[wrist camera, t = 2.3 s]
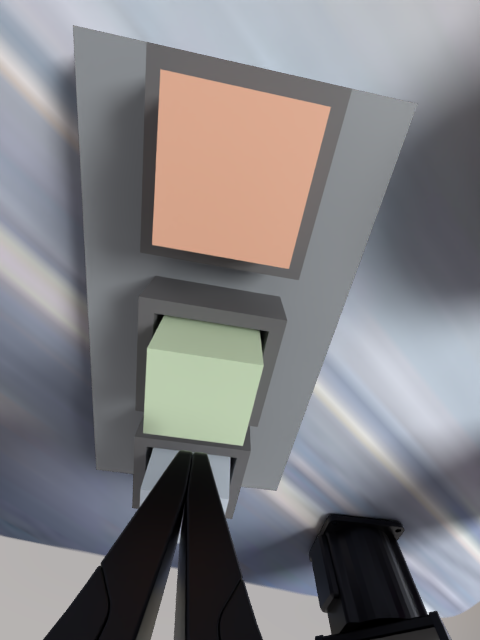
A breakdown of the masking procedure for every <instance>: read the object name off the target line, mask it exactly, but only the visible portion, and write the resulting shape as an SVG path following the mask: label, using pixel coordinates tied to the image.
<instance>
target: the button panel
mask: <svg viewBox="0 0 480 640" xmlns="http://www.w3.org/2000/svg"><path fill="white" fill-rule="evenodd" d="M73 37H74V56H75V75H76V94H77V113H78V132H79V151H80V170H81V189H82V208H83V227H84V246H85V265H86V284H87V303H88V322H89V341H90V360H91V379H92V398H93V417H94V436H95V455H96V470H103V471H112V472H120V473H129V474H133V504H132V508H136V509H139V507H140V489H141V486H142V482H143V479H144V476H145V473H146V470H147V466H148V463H149V460H150V457H151V454H152V450H153V448H161V449H169V450H177V451H180V450H186V451H191V452H193V453H194V452H202V453H206V454H210V455H218V456H226V457H230V486H229V501H228V505H227V509H226V513H225V517H226V518H228V519H232V517H233V513H234V510H235V506H236V503H237V499H238V496H239V492H240V488H241V487H248V488H257V489H265V490H274V491H277V488H278V485H279V482H280V480H281V477H282V474H283V471H284V469H285V466H286V463H287V460H288V458H289V455H290V452H291V449H292V447H293V444H294V441H295V439H296V436H297V433H298V430H299V428H300V425H301V422H302V419H303V417H304V414H305V411H306V408H307V406H308V403H309V400H310V397H311V395H312V392H313V389H314V387H315V384H316V381H317V378H318V376H319V373H320V370H321V367H322V365H323V362H324V359H325V356H326V354H327V351H328V348H329V345H330V343H331V340H332V337H333V335H334V332H335V329H336V326H337V324H338V321H339V318H340V315H341V313H342V310H343V307H344V304H345V302H346V299H347V296H348V293H349V291H350V288H351V285H352V283H353V280H354V277H355V274H356V272H357V269H358V266H359V263H360V261H361V258H362V255H363V252H364V250H365V247H366V244H367V241H368V239H369V236H370V233H371V231H372V228H373V225H374V222H375V220H376V217H377V214H378V211H379V209H380V206H381V203H382V200H383V198H384V195H385V192H386V189H387V187H388V184H389V181H390V179H391V176H392V173H393V170H394V168H395V165H396V162H397V159H398V157H399V154H400V151H401V148H402V146H403V143H404V140H405V137H406V135H407V132H408V129H409V127H410V124H411V121H412V118H413V116H414V113H415V110H416V107H417V105H418V104H416V103H412V102H408V101H403V100H399V99H394V98H390V97H386V96H381V95H377V94H372V93H368V92H364V91H359V90H355V89H351V88H346V87H342V86H338V85H333V84H329V83H324V82H320V81H316V80H311V79H307V78H303V77H298V76H294V75H289V74H285V73H281V72H276V71H272V70H267V69H263V68H259V67H254V66H250V65H245V64H241V63H237V62H232V61H228V60H224V59H219V58H215V57H210V56H206V55H202V54H197V53H193V52H188V51H184V50H180V49H175V48H171V47H167V46H162V45H158V44H153V43H149V42H144V41H140V40H136V39H131V38H127V37H122V36H118V35H114V34H109V33H105V32H100V31H96V30H92V29H87V28H83V27H78V26H74V25H73ZM160 69H162V70H166V71H171V72H175V73H180V74H184V75H189V76H193V77H198V78H202V79H207V80H211V81H216V82H220V83H225V84H229V85H234V86H238V87H243V88H247V89H252V90H256V91H261V92H266V93H270V94H275V95H279V96H284V97H288V98H293V99H297V100H302V101H306V102H311V103H315V104H320V105H324V106H329V107H331V109H330V113H329V117H328V120H327V124H326V128H325V132H324V136H323V140H322V143H321V147H320V151H319V155H318V159H317V163H316V167H315V170H314V174H313V178H312V182H311V186H310V190H309V193H308V197H307V201H306V205H305V209H304V213H303V217H302V220H301V224H300V228H299V232H298V236H297V240H296V243H295V247H294V251H293V255H292V259H291V263H290V267H289V269H286V268H281V267H275V266H269V265H264V264H258V263H252V262H247V261H241V260H235V259H230V258H224V257H218V256H213V255H207V254H201V253H196V252H190V251H184V250H179V249H173V248H167V247H162V246H156V245H152V236H153V215H154V194H155V173H156V152H157V131H158V110H159V89H160ZM164 315H169V316H175V317H181V318H188V319H194V320H200V321H206V322H213V323H219V324H225V325H232V326H238V327H244V328H250V329H257V330H260V338H261V346H262V355H263V363H264V367H263V370H262V374H261V378H260V382H259V386H258V390H257V394H256V397H255V401H254V405H253V409H252V413H251V417H250V420H249V424H248V428H247V432H246V436H245V440H244V444H243V446H240V445H232V444H224V443H216V442H208V441H201V440H193V439H185V438H177V437H169V436H162V435H154V434H146V433H143V424H144V403H145V382H146V361H147V347H148V345H149V344H150V342H151V340H152V338H153V336H154V334H155V332H156V330H157V328H158V326H159V324H160V322H161V321H162V319H163V317H164Z"/></svg>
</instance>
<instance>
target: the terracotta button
mask: <svg viewBox="0 0 480 640" xmlns="http://www.w3.org/2000/svg"><path fill="white" fill-rule="evenodd" d="M330 109H331V107H329V106H324V105H320V104H315V103H311V102H306V101H302V100H297V99H293V98H288V97H284V96H279V95H275V94H270V93H266V92H261V91H256V90H252V89H247V88H243V87H238V86H234V85H229V84H225V83H220V82H216V81H211V80H207V79H202V78H198V77H193V76H189V75H184V74H180V73H175V72H171V71H166V70H162V69H160V89H159V110H158V131H157V152H156V173H155V194H154V215H153V236H152V245H156V246H162V247H167V248H173V249H179V250H184V251H190V252H196V253H201V254H207V255H213V256H218V257H224V258H230V259H235V260H241V261H247V262H252V263H258V264H264V265H269V266H275V267H281V268H286V269H289V267H290V263H291V259H292V255H293V251H294V247H295V243H296V240H297V236H298V232H299V228H300V224H301V220H302V217H303V213H304V209H305V205H306V201H307V197H308V193H309V190H310V186H311V182H312V178H313V174H314V170H315V167H316V163H317V159H318V155H319V151H320V147H321V143H322V140H323V136H324V132H325V128H326V124H327V120H328V117H329V113H330Z"/></svg>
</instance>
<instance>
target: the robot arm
mask: <svg viewBox="0 0 480 640" xmlns="http://www.w3.org/2000/svg"><path fill="white" fill-rule="evenodd" d="M181 524H182V525H181ZM180 529H181V532H180ZM403 532H404V528H403V525H402V523H400V522H393V521H384V520H375V519H366V518H357V517H349V516H340V515H331V516H329V517H328V518H327V520H326V522H325V523H324V525H323V527H322V529H321V531H320V533H319V535H318V537H317V539H316V541H315V543H314V545H313V547H312V549H311V550H310V552H309V559H310V561H311V562H312V565H313V571H314V576H315V582H316V587H317V593H318V598H319V604H320V608H321V610H322V611H323V612H325V613H328V618H329V623H330V628H331V634H332V635H329V636H323V635H320V636H316V637H315V640H452V639H451V637H450V635H449V633H448V631H447V629H446V628H445V626H444V624H443V622H442V620H441V618H440V616H439V614H438V612H437V611H434V612H429V615H428V614H427V612H426V609H425V607H424V604H423V602H422V600H421V597H420V595H419V592H418V590H417V588H416V585H415V583H414V581H413V578H412V576H411V573H410V571H409V569H408V566H407V564H406V561H405V559H404V557H403V554H402V552H401V550H400V547H399V545H398V542H397V540H398V539H399V537H400V536H401V535H402V533H403ZM179 534H180V543H179V560H178V579H177V594H176V612H175V628H174V640H263V639H262V636H261V633H260V631H259V628H258V625H257V622H256V619H255V616H254V613H253V609H252V606H251V603H250V600H249V597H248V593H247V590H246V586H245V583H244V580H242V573H241V569H240V566H239V562H238V559H237V555H236V552H235V548H234V545H233V542H232V538H231V535H230V531H229V528H228V524H227V521H226V517H225V514H224V510H223V507H222V503H221V500H220V496H219V493H218V489H217V486H216V482H215V479H214V475H213V472H212V468H211V465H210V461H209V458H208V455H207V454H206V453H202V452H194V453H192V452H191V451H186V450H180V451H179V452H178V453H177V454H176V456H175V457H174V458H173V460H172V461H171V463H170V464H169V466H168V467H167V468H166V470H165V471H164V473H163V474H162V476H161V477H160V479H159V480H158V481H157V483H156V484H155V486H154V487H153V489H152V490H151V491H150V493H149V494H148V496H147V497H146V499H145V500H144V502H143V503H142V504H141V506H140V507H139V509H138V510H137V512H136V513H135V514H134V516H133V517H132V519H131V520H130V522H129V523H128V525H127V526H126V527H125V529H124V530H123V532H122V533H121V535H120V536H119V537H118V539H117V540H116V542H115V543H114V545H113V546H112V547H111V549H110V550H109V552H108V553H107V555H106V556H105V558H104V559H103V561H102V562H101V566H98V567H97V569H96V570H95V572H94V573H93V575H92V576H91V577H90V579H89V580H88V582H87V583H86V584H85V586H84V587H83V589H82V590H81V591H80V593H79V594H78V595H77V597H76V598H75V599H74V601H73V602H72V604H71V605H70V606H69V608H68V609H67V610H66V612H65V613H64V614H63V615H62V617H61V618H60V619H59V620H58V622H57V623H56V624H55V625H54V627H53V628H52V629H51V630H50V632H49V633H48V634H47V635H46V637H45V638H44V639H43V640H150V639H151V636H152V632H153V629H154V625H155V621H156V618H157V614H158V611H159V607H160V603H161V600H162V596H163V593H164V589H165V585H166V582H167V578H168V574H169V571H170V567H171V564H172V560H173V556H174V553H175V549H176V545H177V542H178V538H179Z"/></svg>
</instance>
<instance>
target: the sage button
mask: <svg viewBox="0 0 480 640" xmlns="http://www.w3.org/2000/svg"><path fill="white" fill-rule="evenodd" d="M263 367H264V363H263V355H262V346H261V338H260V330H257V329H250V328H244V327H238V326H232V325H225V324H219V323H213V322H206V321H200V320H194V319H188V318H181V317H175V316H169V315H164V317H163V319H162V321H161V322H160V324H159V326H158V328H157V330H156V332H155V334H154V336H153V338H152V340H151V342H150V344H149V345H148V347H147V361H146V382H145V403H144V424H143V433H146V434H154V435H162V436H169V437H177V438H185V439H193V440H201V441H208V442H216V443H224V444H232V445H240V446H243V444H244V440H245V436H246V432H247V428H248V424H249V420H250V417H251V413H252V409H253V405H254V401H255V397H256V394H257V390H258V386H259V382H260V378H261V374H262V370H263Z"/></svg>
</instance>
